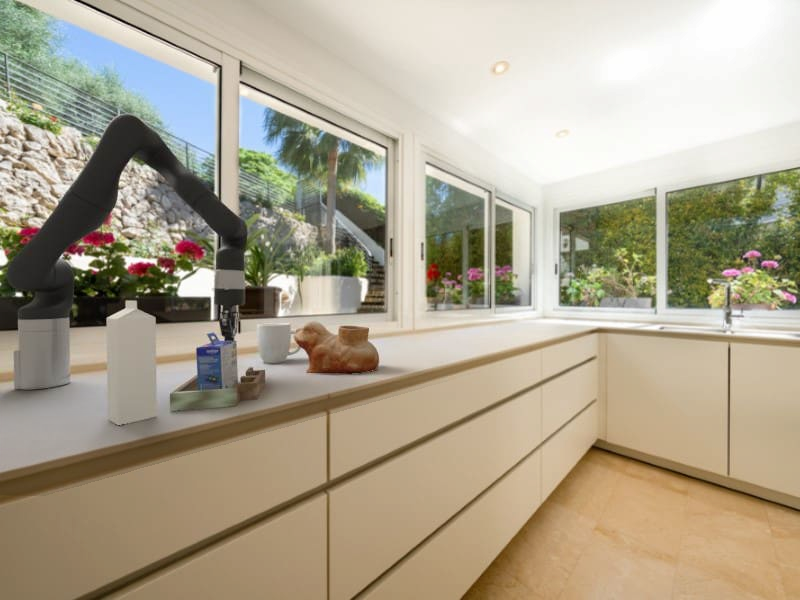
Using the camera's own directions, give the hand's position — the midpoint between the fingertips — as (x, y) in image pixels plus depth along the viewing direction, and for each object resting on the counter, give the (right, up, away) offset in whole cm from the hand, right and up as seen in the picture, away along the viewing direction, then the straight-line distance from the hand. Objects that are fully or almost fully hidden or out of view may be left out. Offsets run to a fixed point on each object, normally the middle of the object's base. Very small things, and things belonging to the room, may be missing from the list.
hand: (229, 351), depth 95 cm
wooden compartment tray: (+6, -8, -13) cm, 16 cm away
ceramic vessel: (+27, -8, +13) cm, 31 cm away
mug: (+4, -8, +26) cm, 27 cm away
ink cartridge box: (+6, -8, -16) cm, 19 cm away
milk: (-4, -8, -30) cm, 31 cm away
